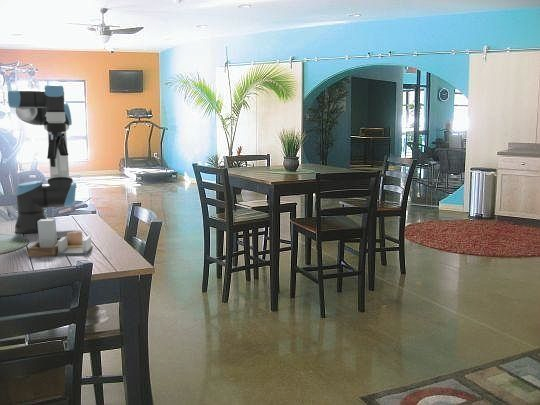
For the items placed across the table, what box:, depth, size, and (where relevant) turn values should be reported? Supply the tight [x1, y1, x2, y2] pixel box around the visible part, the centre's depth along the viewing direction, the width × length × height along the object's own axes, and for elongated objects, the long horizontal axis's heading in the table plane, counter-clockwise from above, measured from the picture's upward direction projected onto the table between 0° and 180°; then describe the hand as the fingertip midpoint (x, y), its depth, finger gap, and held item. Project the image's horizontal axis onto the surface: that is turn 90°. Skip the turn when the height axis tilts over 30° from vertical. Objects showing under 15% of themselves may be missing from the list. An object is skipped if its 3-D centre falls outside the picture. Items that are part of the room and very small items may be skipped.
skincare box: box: [37, 218, 58, 248], centre depth 224 cm, size 6×4×12 cm
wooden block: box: [66, 230, 83, 246], centre depth 234 cm, size 6×6×6 cm
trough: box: [27, 237, 62, 258], centre depth 225 cm, size 18×10×4 cm, turn 5°
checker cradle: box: [56, 235, 93, 257], centre depth 224 cm, size 12×11×6 cm
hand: (59, 172), depth 237 cm, fingers open, 13 cm apart
